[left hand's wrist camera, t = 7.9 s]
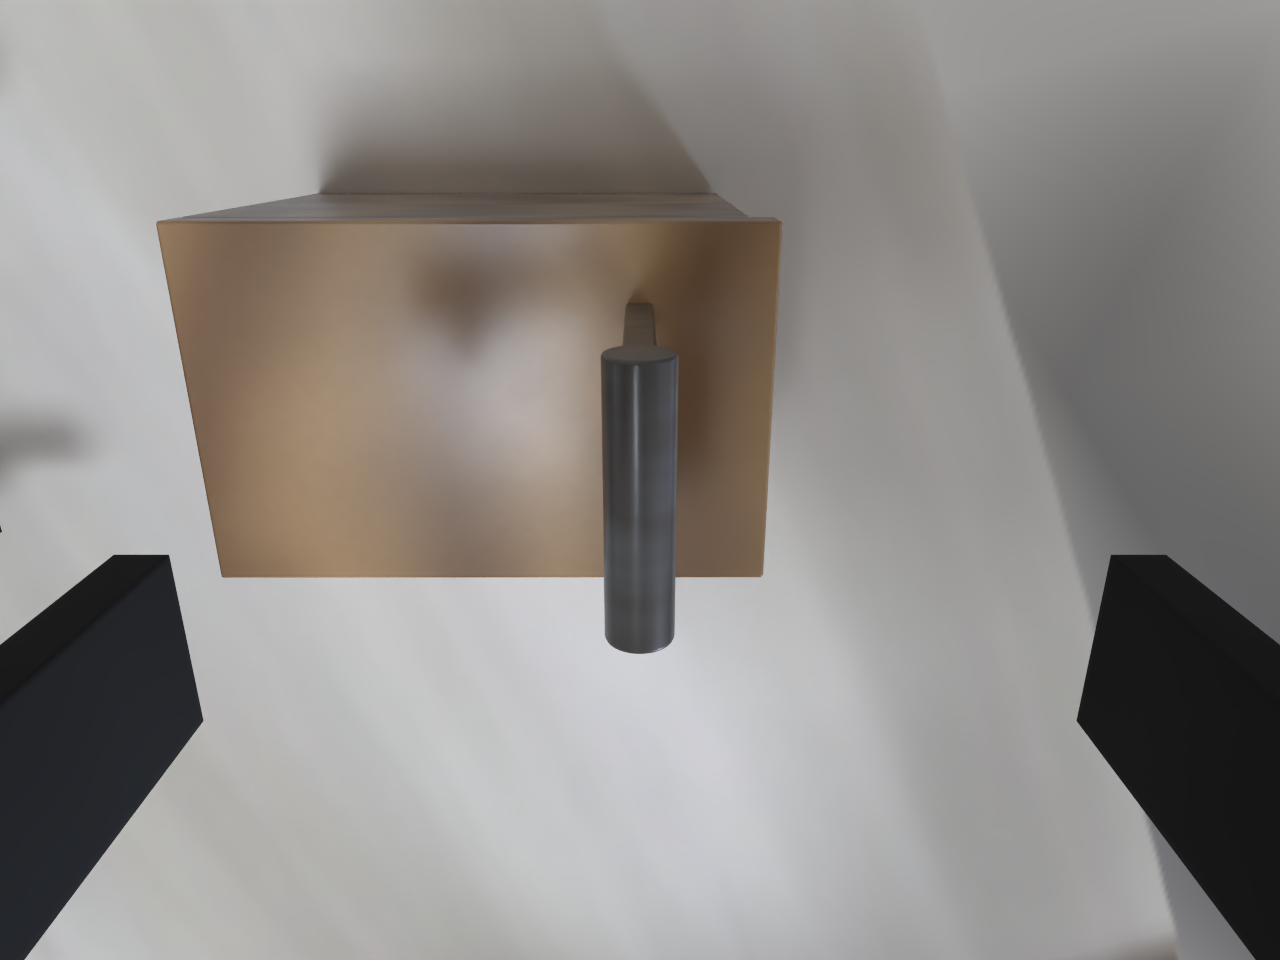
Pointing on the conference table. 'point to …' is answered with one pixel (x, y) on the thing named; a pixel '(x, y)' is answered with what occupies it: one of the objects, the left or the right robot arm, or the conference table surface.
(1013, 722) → the conference table surface
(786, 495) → the conference table surface
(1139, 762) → the left robot arm
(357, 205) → the chest
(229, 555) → the lid
